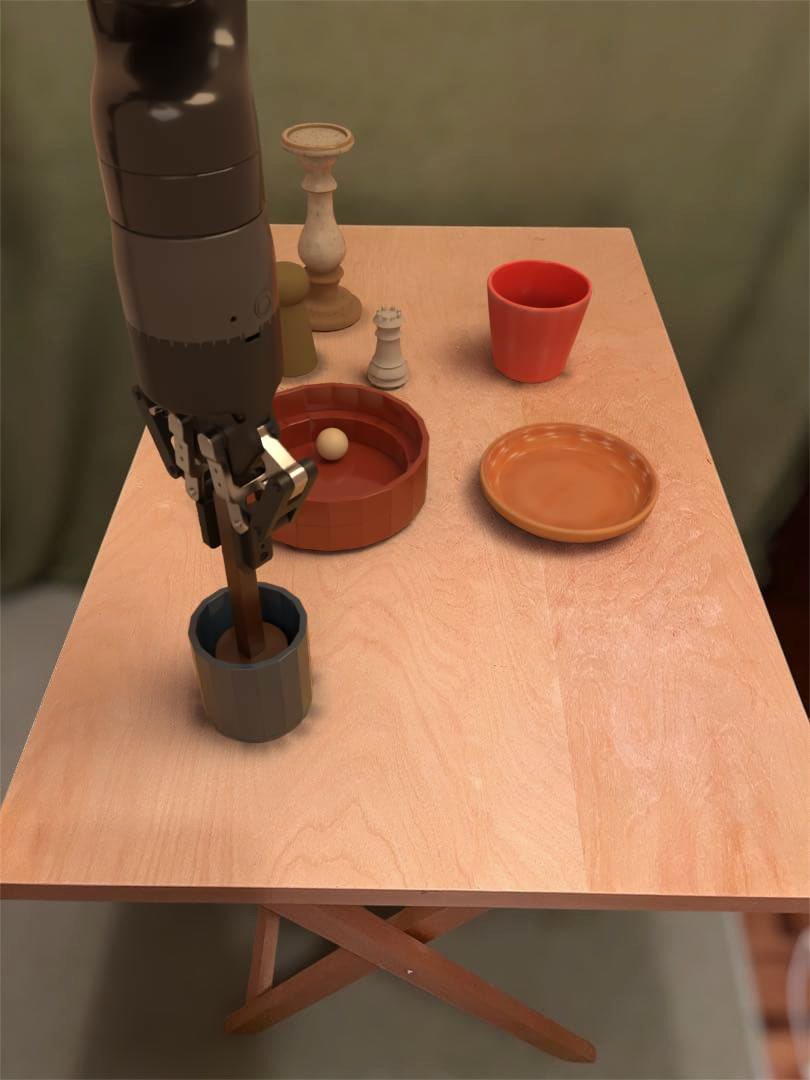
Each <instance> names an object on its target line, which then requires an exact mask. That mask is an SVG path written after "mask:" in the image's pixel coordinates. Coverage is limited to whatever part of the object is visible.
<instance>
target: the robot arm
mask: <svg viewBox="0 0 810 1080" xmlns="http://www.w3.org/2000/svg"><path fill="white" fill-rule="evenodd" d="M85 2H86V7H87V12H88V19H89V24H90V30H91V34H92V40H93V46H94V48H93V49H94V67H93V68H94V69H93V76H92V82H91V88H90V102H89V103H90V118H91V129H92V133H93V140H94V145H95V153H96V158H97V161H98V162H97V163H98V167H99V171H100V176H101V181H102V182H101V183H102V186H103V191H104V196H105V200H106V205H107V210H108V211H107V212H108V215H109V222H110V230H111V231H110V232H111V248H112V261H113V267H114V273H115V277H116V282H117V287H118V291H119V297H120V301H121V306H122V311H123V315H124V319H125V320H124V321H125V325H126V330H127V335H128V339H129V345H130V349H131V353H132V358H133V363H134V368H135V373H136V377H137V384H133V386H131V388H130V389H131V394H132V397H133V399H134V401H135V404H136V406H137V408H138V410H139V412H140V415H141V416H142V418H143V420H144V424H145V425H146V427H147V430H148V432H149V434H150V436H151V439H152V441H153V443H154V445H155V448H156V450H157V453H158V454H159V457H160V458H161V461H162V463H163V465H164V467H165V470H166V472H167V473H168V475H169V476H170V477H171V478H172V479H173V480H178V479H179V478H182V479H183V481H184V487H185V492H186V493H187V495H188V496H189V497H190V498H191V500H193V501H194V502H195V508H196V513H197V518H198V524H199V527H200V533H201V538H202V542H203V544H205V545H206V546H208V548H210V549H211V550H215V549H217V548H219V547H221V541H220V535H219V528H218V522H217V516H216V509H215V503H214V497H213V491H214V490H215V493H216V495H217V496H218V497H220V498H222V499H224V500H226V504H227V508H228V513H229V517H230V521H231V524H232V526H230V527H231V534H232V541H233V548H234V554H235V561H236V567H237V568H238V569H239V570H241V571H242V572H243V573H245V574H250V573H251V572H253V571H254V570H256V571H257V570H258V569H259V568H261V567H262V566H264V565H266V564H267V563H268V562H270V561H271V560H272V559H273V557H274V548H273V539H272V537H271V534H272V533H273V532H275V531H276V530H278V529H280V528H281V527H283V526H284V525H286V524H289V523H290V522H292V521H293V520H295V519H296V517H297V515H298V513H299V511H300V510H301V508H302V506H303V504H304V502H305V500H306V498H307V496H308V494H309V492H310V490H311V488H312V486H313V484H314V482H315V480H316V478H317V476H318V468H317V466H316V464H315V462H314V461H313V460H312V459H311V458H309V457H304V458H302V459H300V460H299V461H297V462H296V461H295V460H294V459H293V457H292V456H291V455H290V454H289V453H288V452H287V451H286V449H285V448H284V447H283V446H282V445H281V444H280V443H279V442H280V438H281V430H280V426H279V424H278V421H277V419H276V416H275V414H274V411H273V406H272V402H273V399H274V396H275V393H276V392H278V389H279V387H280V384H281V382H282V381H283V378H284V377H283V374H284V354H283V341H282V329H281V316H280V303H279V291H278V278H277V266H276V262H277V256H276V247H275V242H274V238H273V234H272V228H271V225H270V220H269V216H268V208H267V202H266V201H267V200H266V199H267V197H266V189H265V177H264V176H265V175H264V165H263V151H262V142H261V141H262V139H261V133H260V132H261V131H260V126H259V117H258V113H257V106H256V102H255V94H254V89H253V84H252V77H251V72H250V70H251V69H250V62H249V61H250V58H249V12H248V11H249V10H248V0H85ZM172 439H173V443H172ZM252 493H254V495H255V499H256V500H255V501H253V502H252V503H250V504H248V505H247V506H246V505H245V499H246V498H247V497H248V496H249V495H251V494H252Z"/></svg>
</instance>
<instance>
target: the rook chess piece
mask: <svg viewBox="0 0 810 1080" xmlns="http://www.w3.org/2000/svg"><path fill="white" fill-rule="evenodd" d="M375 311H376V313H375V315H374V316H373V318H372V323H373V324H374V325H375V327H376V330H375V331H374V335H375V336H376V344H375V351H374V354H373V355H372V357H371V360H370V361H369V362H368V366H367V371H368V372H367V379H368V381H370V383H371V384H372V385H373V386H375V387H377V389H382V390H394V389H398V388H400V387H402V386H404V385H405V384H406V383H407V381H408V380H409V379H410V373H409V364H408V362H407V361H406V360H405V359H406V358H405V356H404V355H403V353H402V346H401V338H402V336H403V331H402V330H401V327H402V326H403V325H404V324H405V323H406V321H405V320H406V319H405V317H404V316H403V315H402V309H401V308H399V307H398V308H396V306H395V305H390V308H389V309H388V307H387V305H382V306H381V308H380V307H378V308H376V310H375Z"/></svg>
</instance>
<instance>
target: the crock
mask: <svg viewBox="0 0 810 1080" xmlns="http://www.w3.org/2000/svg"><path fill="white" fill-rule="evenodd" d="M257 583H258V591H259V599H260V607H261V615H262V622H266V623H269V624H272V625H274V626H276V627H277V628H279V629H280V630H281V631H282V632H283V633H284V634H285V636H286V638H287V640H288V646H289V647H287V648H286V649H285V650H283V651H282V652H281V653H279V654H278V655H277V656H275V657H273V658H270V659H267V660H264V661H261V662H258V663H255V664H232V663H228V662H225V661H222V660H219V659H216V658H215V647H216V644H217V642H218V640H219V638H220V637H221V636H222V635H223V634H224V633H225V632H226V631H227V630H228V629H230V628H231V627H233V626H234V622H233V616H232V610H231V604H230V597H229V591H228V586H224V587H221V588H219V589H217V590H216V591H214V592H213V593H211V594H210V595H208V596H206V597H205V598H204V599H203V600H201V602H200V603H199V604H198V605H197V607H196V608H195V609H194V611H193V612H192V614H191V616H190V619H189V624H188V630H187V637H188V642H189V646H190V651H191V657H192V660H193V665H194V670H195V675H196V679H197V684H198V689H199V693H200V698H201V703H202V706H203V709H204V712H205V716H206V718H207V720H208V721H209V723H210V724H211V726H212V727H213V728H214V729H215V730H216V731H217V732H219V733H220V734H222V735H223V736H225V737H227V738H229V739H232V740H234V741H238V742H244V743H263V742H268V741H272V740H275V739H278V738H281V737H283V736H285V735H287V734H289V733H290V732H291V731H293V730H294V729H296V728H297V727H298V726H299V725H300V724H301V723H302V722H303V720H305V718H306V716H307V715H308V713H309V711H310V709H311V706H312V703H313V697H314V696H313V695H314V694H313V686H314V685H313V684H314V683H313V672H312V671H313V670H312V658H311V657H312V656H311V644H310V631H309V630H310V629H309V618H308V617H309V616H308V612H307V610H306V608H305V607H304V605H303V602H302V601H301V599H300V598H299V597H297V596H296V595H295V594H293V592H291V591H289V590H288V589H287V588H286V587H284V586H279V585H276V584H272V583H269V582H266V581H257Z"/></svg>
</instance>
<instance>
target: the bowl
mask: <svg viewBox="0 0 810 1080" xmlns="http://www.w3.org/2000/svg"><path fill="white" fill-rule="evenodd" d="M272 406H273V411H274V414H275V416H276V419H277V421H278V424H279V426H280V430H281V438H280V442H279V443H280V444H281V445H282V446H283V447H284V448H285V449H286V451H287V452H288V453H289V454H290V455H291V456H292V457H293V459H294V460H295V461H296V462H297V461H299V460H300V459H302V458H304V457H309V458H311V459H312V460H313V461H314V462H315V464H316V466H317V468H318V476H317V478H316V480H315V482H314V484H313V486H312V488H311V490H310V492H309V494H308V496H307V498H306V500H305V502H304V504H303V506H302V508H301V510H300V511H299V513H298V515H297V517H296V519H295V520H293V521H292V522H290V523H289V524H286V525H284V526H283V527H281V528H280V529H278V530H276V531H275V532H273V533H272V534H271V537H272V540H273V541H277V542H279V543H282V544H285V545H289V546H292V547H294V548H296V549H304V550H305V549H306V550H315V551H325V552H326V551H327V552H335V551H342V550H349V549H357V548H362V547H363V548H365V547H366V546H369V545H372V544H375V543H378V542H380V541H382V540H385V539H388V538H390V537H392V536H394V535H395V534H396V533H398V532H400V531H401V530H402V529H404V528H405V527H406V526H408V525H409V524H410V523H412V522H413V521H414V519H415V518H416V517H417V515H418V513H419V512H420V510H421V509H422V507H423V506H424V504H425V502H426V495H427V491H428V490H427V489H428V481H429V480H428V477H429V476H428V475H429V459H430V440H431V439H430V433H429V431H428V429H427V425H426V423H425V421H424V419H423V417H422V416H421V415H420V414H419V413H418V412H417V411H416V410H415V409H414V408H413V407H412V406H411V405H410V404H409V403H408V402H406V401H404V400H402V399H400V398H398V397H397V396H395V395H393V394H391V393H389V392H387V391H384V390H380V389H378V388H374V387H370V386H367V385H363V384H356V383H343V382H320V383H310V384H309V383H308V384H301V385H297V386H295V387H294V386H293V387H291V388H287V389H284V390H281V391H280V390H279V391H276V393H275V396H274V399H273V402H272ZM328 428H336V429H339V430H341V431H342V432H343V433H344V434H345V435H346V437H347V439H348V449H347V452H346V453H345V455H344V456H343V457H341V458H339V459H337V460H328V459H325V458H323V457H322V456H321V455H320V454H319V452H318V451H317V448H316V440H317V437H318V435H319V434H320V433H321V432H322V431H323V430H325V429H328ZM255 500H256V499H255V495H254V493H252V494H251V495H249V496H248V497H247V504H250V503H252V502H253V501H255Z"/></svg>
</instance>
